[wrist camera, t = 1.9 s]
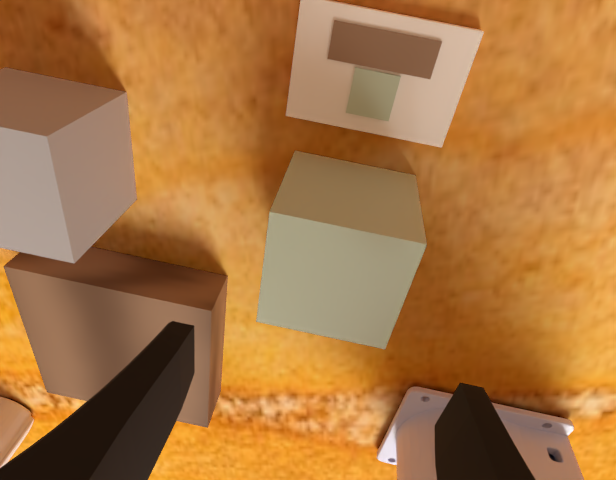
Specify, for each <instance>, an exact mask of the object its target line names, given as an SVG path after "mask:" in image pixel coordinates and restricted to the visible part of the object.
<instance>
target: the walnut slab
mask: <svg viewBox="0 0 616 480" xmlns="http://www.w3.org/2000/svg"><path fill="white" fill-rule="evenodd" d="M4 269H5V272H6V275H7V278H8V281H9V283H10V286H11V289H12V292H13V295H14V298H15V301H16V304H17V307H18V309H19V312H20V315H21V318H22V321H23V324H24V327H25V330H26V333H27V335H28V338H29V341H30V344H31V347H32V350H33V353H34V356H35V359H36V361H37V364H38V367H39V370H40V373H41V376H42V379H43V382H44V385H45V387H46V390H47V392H49V393H53V394H58V395H62V396H67V397H71V398H76V399H80V400H85V401H88V400H89V399H90V398H92V397H93V396H94V395H95V394H96V393H97V392H99V391H100V390H101V389H102V388H103V387H104V386H105V385H107V384H108V383H109V382H110V381H111V380H112V379H113V378H114V377H115V376H116V375H117V374H118V373H119V372H120V371H122V370H123V369H124V368H125V367H126V366H127V365H128V364H129V363H130V362H131V361H132V360H133V359H134V358H135V357H136V356H137V355H138V354H139V353H140V352H141V351H142V350H143V349H144V348H145V347H146V346H147V345H148V344H149V343H150V342H151V341H152V340H153V339H154V338H155V337H156V336H157V335H158V334H159V333H160V332H161V331H162V329H163V328H164V327H165V326H166V325H167V324H168V323H169V322H171V321H175V322H180V323H184V324H189V325H194V341H195V373H194V376H193V379H192V382H191V385H190V388H189V390H188V393H187V396H186V399H185V401H184V404H183V407H182V410H181V412H180V414H179V416H178V418H177V420H176V421H180V422H185V423H189V424H194V425H198V426H203V427H207V428H208V425H209V423H210V420H211V417H212V414H213V411H214V408H215V406H216V403H217V400H218V397H219V394H220V392H221V377H222V361H223V344H224V328H225V311H226V295H227V279H228V276H225V275H221V274H216V273H211V272H207V271H202V270H197V269H193V268H188V267H183V266H179V265H174V264H169V263H165V262H160V261H156V260H151V259H146V258H142V257H137V256H132V255H128V254H123V253H118V252H114V251H109V250H104V249H100V248H95V247H90V248H89V249H88V250H87V251H86V252H85V253H84V254H83V255H82V256H81V257H80V258H79V259H78V260H77V261H76V262H75V264H74V263H69V262H65V261H60V260H55V259H51V258H46V257H41V256H37V255H32V254H27V253H23V252H20V253H19V254H18V255H16V256H15V257H14V258H13V259H12V260H10V261H9V262H8V263H7V264H6V265H5V266H4Z"/></svg>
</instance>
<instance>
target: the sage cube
mask: <svg viewBox="0 0 616 480" xmlns="http://www.w3.org/2000/svg"><path fill="white" fill-rule="evenodd" d="M426 246H427V241H426V235H425V229H424V223H423V217H422V211H421V205H420V199H419V192H418V186H417V180H416V175H412V174H407V173H403V172H398V171H393V170H388V169H383V168H378V167H373V166H368V165H364V164H359V163H354V162H349V161H344V160H339V159H334V158H329V157H325V156H320V155H315V154H310V153H305V152H300V151H295V152H294V154H293V157H292V159H291V161H290V164H289V166H288V169H287V171H286V173H285V176H284V178H283V181H282V183H281V185H280V188H279V190H278V193H277V195H276V197H275V200H274V202H273V205H272V207H271V209H270V212H269V220H268V229H267V237H266V245H265V253H264V262H263V270H262V278H261V286H260V295H259V303H258V311H257V320H256V322H260V323H265V324H269V325H274V326H279V327H283V328H288V329H293V330H297V331H302V332H307V333H311V334H316V335H321V336H325V337H330V338H335V339H339V340H344V341H348V342H353V343H358V344H362V345H367V346H372V347H376V348H381V349H385V348H386V346H387V343H388V341H389V338H390V336H391V333H392V331H393V328H394V326H395V323H396V321H397V318H398V316H399V313H400V311H401V308H402V306H403V303H404V301H405V298H406V296H407V293H408V291H409V288H410V286H411V283H412V281H413V278H414V276H415V273H416V271H417V268H418V266H419V263H420V261H421V258H422V256H423V253H424V251H425V248H426Z"/></svg>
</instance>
